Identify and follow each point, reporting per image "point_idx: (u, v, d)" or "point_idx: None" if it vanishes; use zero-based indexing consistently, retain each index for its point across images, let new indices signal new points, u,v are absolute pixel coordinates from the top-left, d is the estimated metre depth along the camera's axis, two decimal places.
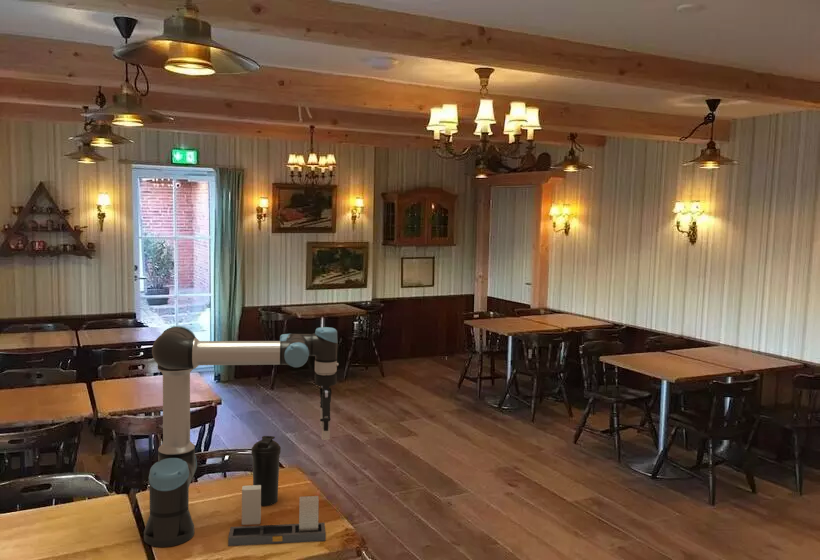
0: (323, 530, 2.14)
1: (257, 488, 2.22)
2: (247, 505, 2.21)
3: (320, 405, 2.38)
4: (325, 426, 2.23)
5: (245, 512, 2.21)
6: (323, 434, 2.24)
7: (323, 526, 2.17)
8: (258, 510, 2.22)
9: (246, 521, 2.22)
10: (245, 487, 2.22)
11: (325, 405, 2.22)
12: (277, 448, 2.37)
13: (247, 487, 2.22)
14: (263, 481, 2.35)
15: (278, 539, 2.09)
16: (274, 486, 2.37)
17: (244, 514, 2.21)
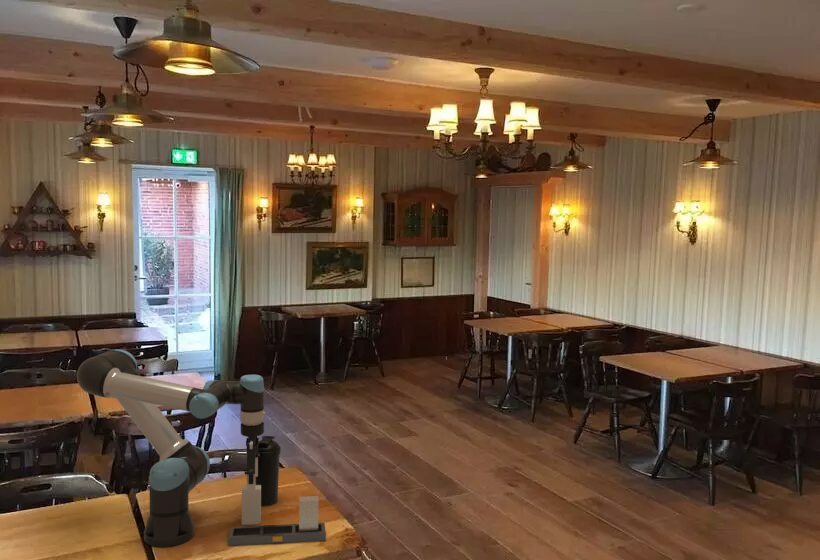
0: (323, 530, 2.14)
1: (257, 488, 2.22)
2: (247, 505, 2.21)
3: None
4: (250, 479, 2.14)
5: (245, 512, 2.21)
6: (248, 487, 2.15)
7: (323, 526, 2.17)
8: (258, 510, 2.22)
9: (246, 521, 2.22)
10: (245, 487, 2.22)
11: (249, 457, 2.13)
12: (277, 448, 2.37)
13: None
14: (263, 481, 2.35)
15: (278, 539, 2.09)
16: (274, 486, 2.37)
17: (244, 514, 2.21)
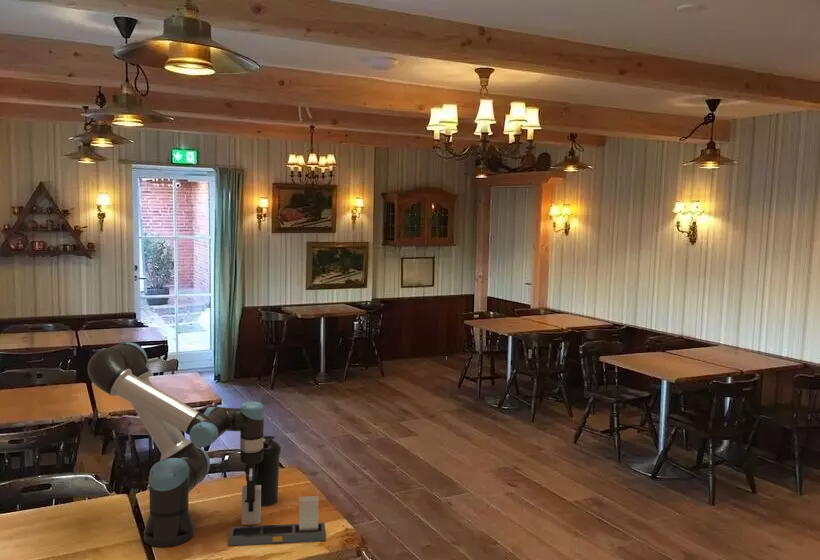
0: (323, 530, 2.14)
1: (257, 488, 2.22)
2: None
3: None
4: (250, 507, 2.19)
5: (245, 512, 2.21)
6: (248, 515, 2.21)
7: (323, 526, 2.17)
8: (258, 510, 2.22)
9: (246, 521, 2.22)
10: (245, 487, 2.22)
11: (249, 488, 2.17)
12: (277, 448, 2.37)
13: None
14: (263, 481, 2.35)
15: (278, 539, 2.09)
16: (274, 486, 2.37)
17: (244, 514, 2.21)
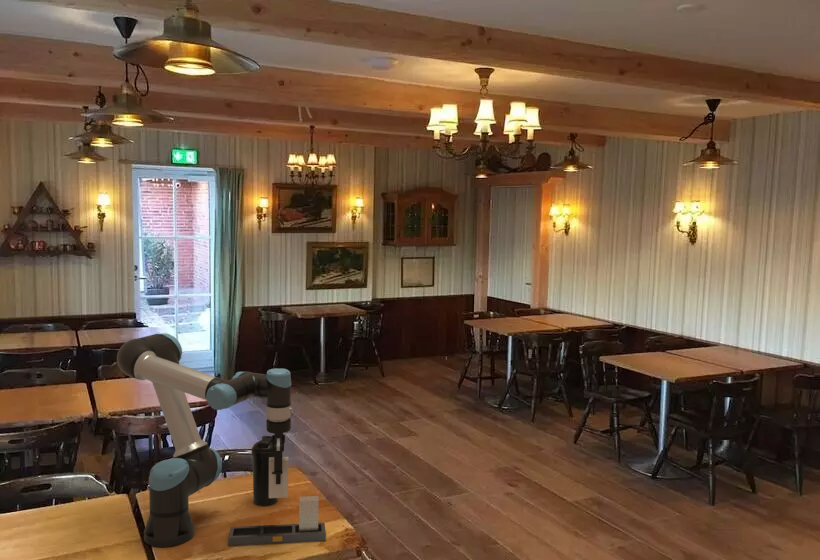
0: (323, 530, 2.14)
1: (285, 459, 2.11)
2: None
3: None
4: (277, 479, 2.08)
5: (272, 485, 2.10)
6: (275, 487, 2.09)
7: (323, 526, 2.17)
8: (286, 482, 2.11)
9: (274, 494, 2.10)
10: (272, 458, 2.11)
11: (277, 459, 2.05)
12: None
13: None
14: (263, 481, 2.35)
15: (278, 539, 2.09)
16: None
17: (271, 487, 2.10)
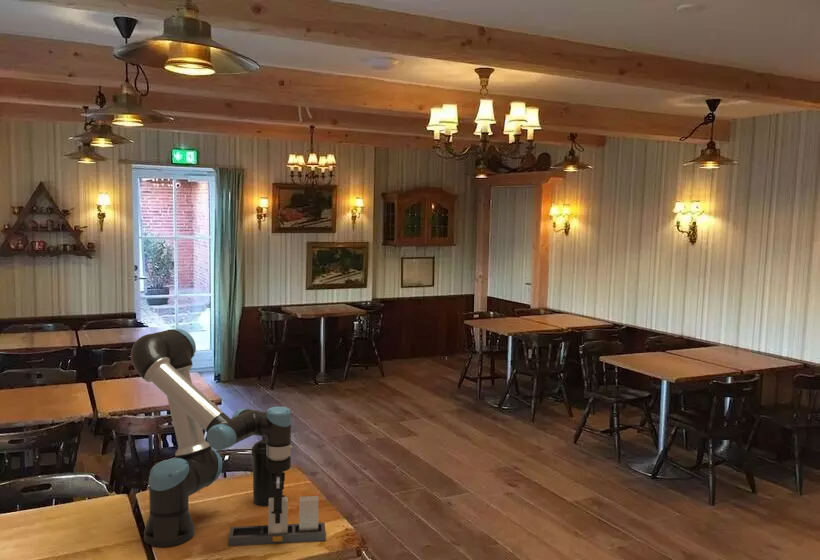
0: (323, 530, 2.14)
1: (284, 500, 2.12)
2: None
3: None
4: (277, 518, 2.07)
5: (272, 526, 2.11)
6: (275, 526, 2.08)
7: (323, 526, 2.17)
8: (285, 523, 2.12)
9: None
10: (272, 499, 2.12)
11: (276, 497, 2.05)
12: None
13: None
14: (263, 481, 2.35)
15: (278, 539, 2.09)
16: None
17: (271, 527, 2.11)
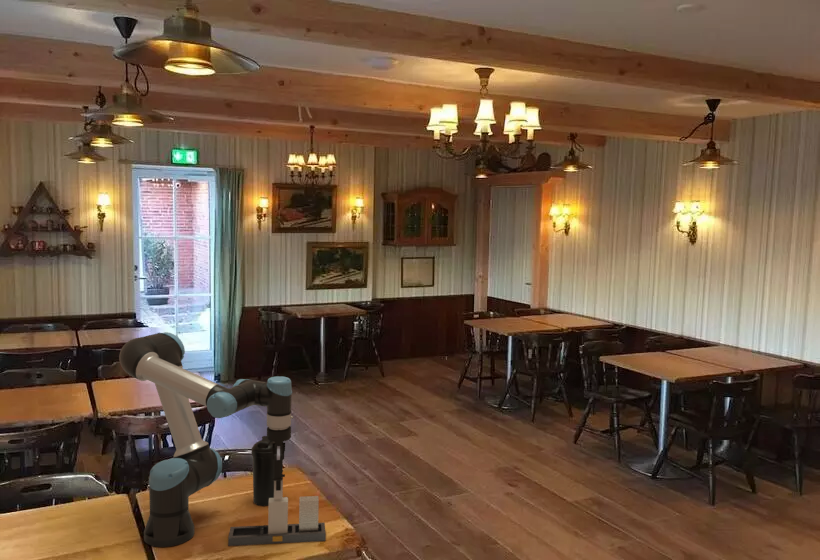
0: (323, 530, 2.14)
1: (284, 500, 2.12)
2: (274, 519, 2.11)
3: None
4: (277, 486, 2.10)
5: (272, 526, 2.11)
6: (275, 494, 2.11)
7: (323, 526, 2.17)
8: (285, 523, 2.12)
9: None
10: (272, 499, 2.12)
11: (277, 467, 2.06)
12: None
13: None
14: (263, 481, 2.35)
15: (278, 539, 2.09)
16: None
17: (271, 527, 2.11)
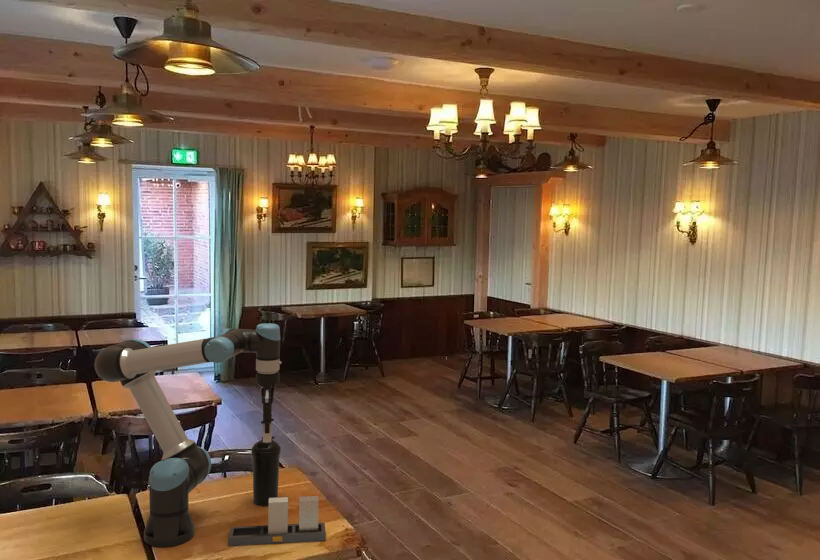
0: (323, 530, 2.14)
1: (284, 500, 2.12)
2: (274, 519, 2.11)
3: None
4: (266, 428, 2.17)
5: (272, 526, 2.11)
6: (264, 437, 2.19)
7: (323, 526, 2.17)
8: (285, 523, 2.12)
9: None
10: (272, 499, 2.12)
11: (265, 410, 2.14)
12: (277, 448, 2.37)
13: (274, 499, 2.12)
14: (263, 481, 2.35)
15: (278, 539, 2.09)
16: (274, 486, 2.37)
17: (271, 527, 2.11)
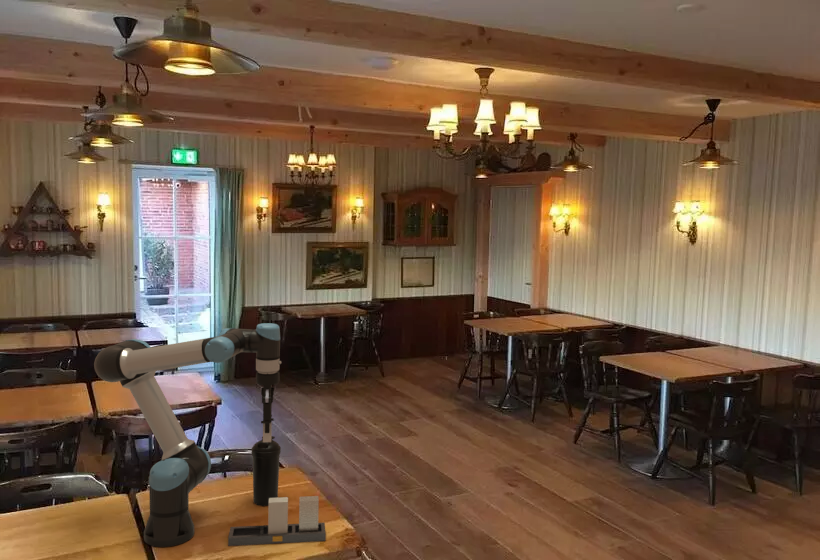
0: (323, 530, 2.14)
1: (284, 500, 2.12)
2: (274, 519, 2.11)
3: None
4: (266, 428, 2.17)
5: (272, 526, 2.11)
6: (264, 436, 2.19)
7: (323, 526, 2.17)
8: (285, 523, 2.12)
9: None
10: (272, 499, 2.12)
11: (265, 410, 2.14)
12: (277, 448, 2.37)
13: (274, 499, 2.12)
14: (263, 481, 2.35)
15: (278, 539, 2.09)
16: (274, 486, 2.37)
17: (271, 527, 2.11)
